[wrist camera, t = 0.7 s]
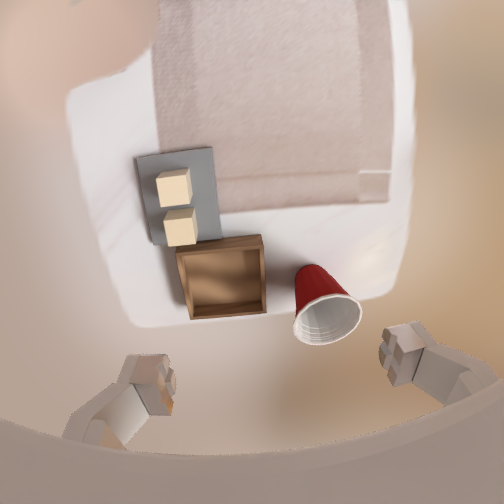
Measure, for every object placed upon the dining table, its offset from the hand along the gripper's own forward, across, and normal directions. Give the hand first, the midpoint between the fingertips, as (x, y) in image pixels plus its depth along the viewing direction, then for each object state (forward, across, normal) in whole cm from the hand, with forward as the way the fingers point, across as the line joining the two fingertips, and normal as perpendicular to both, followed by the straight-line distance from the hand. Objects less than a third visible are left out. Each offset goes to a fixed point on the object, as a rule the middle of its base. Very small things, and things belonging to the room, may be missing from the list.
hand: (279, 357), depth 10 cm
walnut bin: (+37, +5, +14) cm, 40 cm away
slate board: (+35, +10, 0) cm, 36 cm away
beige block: (+34, +10, +4) cm, 36 cm away
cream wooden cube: (+34, +10, -2) cm, 35 cm away
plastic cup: (+38, -10, +18) cm, 43 cm away
